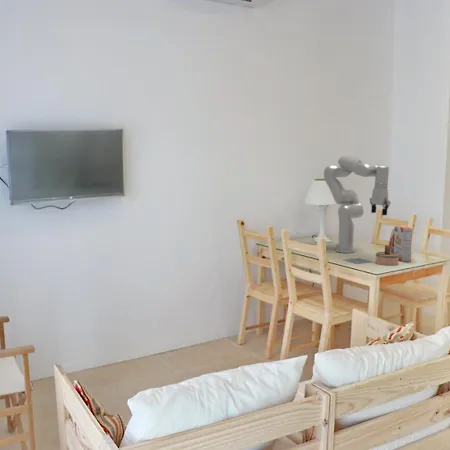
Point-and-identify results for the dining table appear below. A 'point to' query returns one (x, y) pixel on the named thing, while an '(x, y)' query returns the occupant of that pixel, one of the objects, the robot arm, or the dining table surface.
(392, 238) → the milk carton
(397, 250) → the cracker box
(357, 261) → the mat
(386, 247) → the lid
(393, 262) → the bowl
